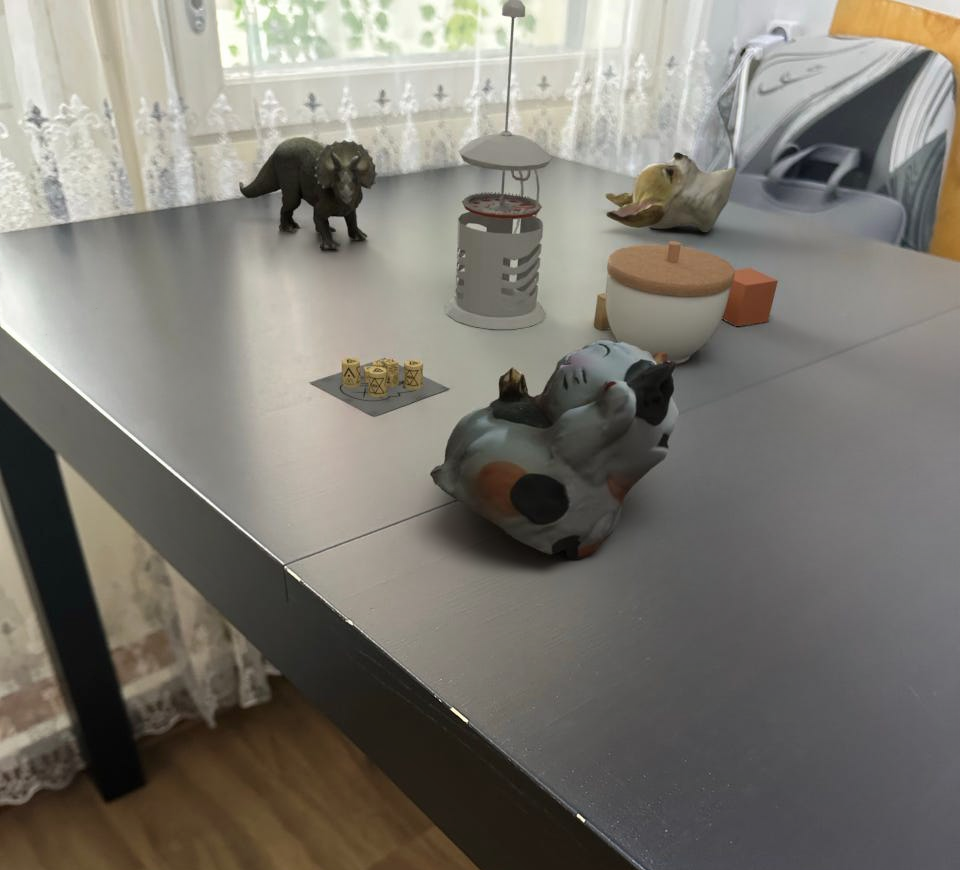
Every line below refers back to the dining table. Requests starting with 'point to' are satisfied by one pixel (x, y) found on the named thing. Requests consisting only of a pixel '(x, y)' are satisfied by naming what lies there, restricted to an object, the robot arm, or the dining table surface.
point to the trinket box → (666, 297)
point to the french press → (500, 231)
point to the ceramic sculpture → (674, 196)
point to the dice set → (379, 384)
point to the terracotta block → (750, 297)
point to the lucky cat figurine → (564, 447)
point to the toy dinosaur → (317, 183)
